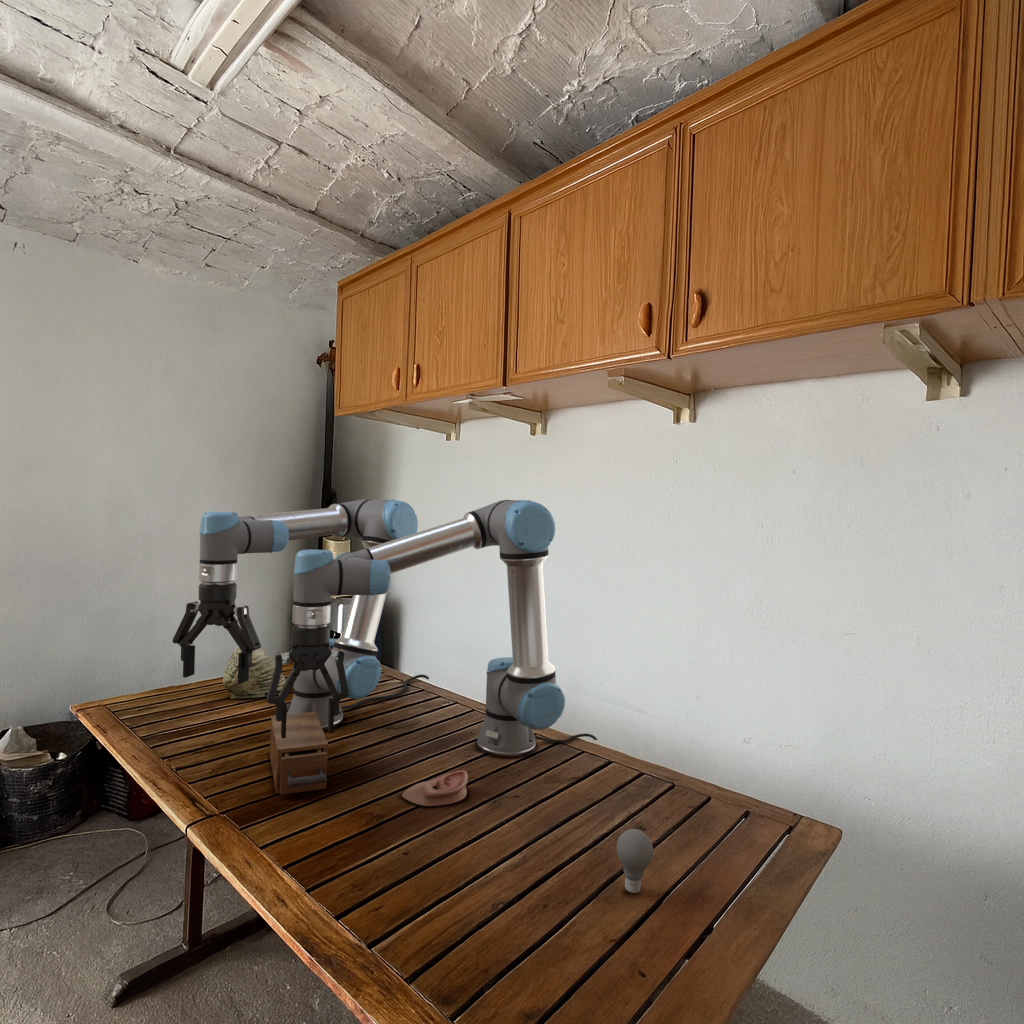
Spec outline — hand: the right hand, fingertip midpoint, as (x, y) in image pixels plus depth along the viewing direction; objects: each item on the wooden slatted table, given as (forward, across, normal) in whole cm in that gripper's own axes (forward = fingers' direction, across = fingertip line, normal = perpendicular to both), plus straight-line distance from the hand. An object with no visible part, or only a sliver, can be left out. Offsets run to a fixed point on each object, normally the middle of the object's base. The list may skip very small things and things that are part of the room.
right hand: (307, 733), depth 131 cm
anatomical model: (+14, +26, -6) cm, 31 cm away
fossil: (+14, -7, +76) cm, 78 cm away
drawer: (+13, 0, +10) cm, 17 cm away
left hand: (-8, -18, +16) cm, 25 cm away
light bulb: (+14, +47, -50) cm, 70 cm away
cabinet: (+14, 0, +16) cm, 22 cm away
